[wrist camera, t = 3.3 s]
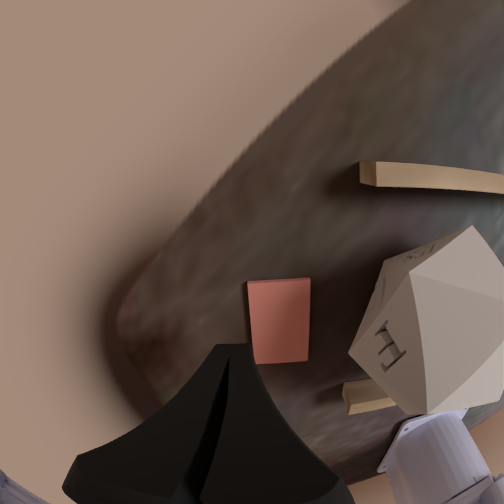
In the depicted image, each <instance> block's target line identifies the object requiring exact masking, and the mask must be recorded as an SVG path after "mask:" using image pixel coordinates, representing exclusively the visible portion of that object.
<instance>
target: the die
mask: <svg viewBox="0 0 504 504" xmlns="http://www.w3.org/2000/svg"><path fill="white" fill-rule="evenodd" d="M348 354H349V355H350V356H351V357H352V358H353V359H354V360H355V361H356V362H357V363H358V364H359V365H360V366H361V368H362V369H363V370H364V371H365V372H366V373H367V374H368V375H369V376H370V377H371V378H372V379H373V380H374V381H375V382H376V383H377V384H378V385H379V386H380V387H381V388H382V390H383V391H384V392H385V393H386V394H387V395H388V396H389V397H390V398H391V399H392V400H393V401H394V402H395V403H396V404H397V405H398V406H399V407H400V408H401V409H402V410H403V411H404V413H405V414H434V413H441V412H447V411H453V410H459V409H464V408H470V407H474V406H479V405H483V404H488V403H492V402H496V401H499V399H500V397H501V395H502V392H503V390H504V267H503V266H502V264H501V263H500V261H499V260H498V258H497V257H496V256H495V254H494V253H493V251H492V250H491V249H490V247H489V246H488V245H487V243H486V242H485V241H484V239H483V238H482V237H481V235H480V234H479V233H478V232H477V230H476V229H475V228H474V227H473V225H471V226H468V227H466V228H464V229H461V230H459V231H457V232H454V233H452V234H450V235H447V236H445V237H442V238H440V239H437V240H435V241H432V242H430V243H427V244H425V245H422V246H420V247H417V248H415V249H412V250H410V251H407V252H404V253H402V254H399V255H397V256H394V257H391V258H389V259H386V260H384V262H383V265H382V268H381V271H380V274H379V277H378V280H377V283H376V285H375V291H374V292H373V294H372V296H371V299H370V302H369V304H368V307H367V309H366V312H365V314H364V317H363V319H362V322H361V324H360V327H359V329H358V331H357V334H356V336H355V338H354V341H353V343H352V345H351V347H350V350H349V352H348Z"/></svg>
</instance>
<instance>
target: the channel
mask: <svg viewBox="0 0 504 504" xmlns="http://www.w3.org/2000/svg"><path fill="white" fill-rule="evenodd" d="M359 167H360V183H363V184H368V185H372V186H377V187H417V188H439V189H456V190H469V191H481V192H492V193H502V194H504V175H501V174H495V173H489V172H483V171H476V170H469V169H461V168H453V167H444V166H434V165H423V164H411V163H395V162H370V161H359ZM342 395H343V398H344V401H345V405H346V408H347V411H348V415H350V414H356V413H361V412H367V411H371V410H376V409H381V408H385V407H389V406H394V405H397V404H396V403H395V402H394V401H393V400H392V399H391V398H390V397H389V396H388V395H387V394H386V393H385V392H384V391H383V390H382V388H381V387H380V386H379V385H378V384H377V383H376V382H375V381H374V380H373V379H372V378H370V379H364V380H358V381H352V382H345V383H344V385H343V390H342Z"/></svg>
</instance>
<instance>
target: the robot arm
mask: <svg viewBox="0 0 504 504" xmlns="http://www.w3.org/2000/svg"><path fill="white" fill-rule="evenodd" d="M467 410H468V408H464V409H459V410H453V411H447V412H441V413H434V414H425V415H422V416H419V417H416V418H413V419H409V420H406V421H405V422H403V423H402V425H401V426H400V429H399V431H398V433H397V434H396V436H395V438H394V440H393V442H392V444H391V446H390V448H389V450H388V451H387V453H386V455H385V457H384V458H383V460H382V462H381V464H380V465H379V467H378V469H377V472H378V473H381V472H385V471H386V473H387V475H388V479H389V482H390V485H391V489H392V492H393V496H394V499H395V502H396V504H504V474H503V473H502V474H500V475H499V476H498V477H495V476H492V475H491V473H490V471H489V469H488V467H487V465H486V463H485V461H484V459H483V457H482V456H481V454H480V452H479V450H478V448H477V446H476V445H475V443H474V441H473V439H472V437H471V436H470V434H469V432H468V430H467V429H466V427H465V425H464V424H463V422H462V418H463V417H464V415H465V413H466V412H467ZM62 489H63V491H64V493H65V494H66V495H67V496H68V497H70V498H71V499H72V500H73V501H75V502H76V503H77V504H355V502H354V499H353V497H352V494H351V493H350V491H349V489H348V487H347V485H346V484H345V482H344V480H343V479H342V477H341V476H340V475H339V474H337V473H336V472H335V471H333V470H332V469H331V468H330V467H329V466H327V465H326V464H325V463H324V462H323V461H322V460H320V459H319V458H318V457H317V456H316V455H315V454H314V453H313V452H312V451H311V450H310V449H309V448H308V447H307V446H306V445H305V444H304V442H303V441H302V440H301V439H300V438H299V437H298V436H297V434H296V433H295V432H294V431H293V430H292V429H291V427H290V426H289V425H288V423H287V422H286V421H285V419H284V418H283V416H282V415H281V413H280V412H279V410H278V409H277V407H276V406H275V404H274V402H273V401H272V399H271V397H270V395H269V393H268V392H267V390H266V388H265V386H264V384H263V381H262V379H261V376H260V374H259V372H258V369H257V366H256V363H255V359H254V351H253V345H251V344H250V343H246V344H216V345H215V346H214V348H213V349H212V350H211V352H210V353H209V355H208V356H207V358H206V359H205V360H204V362H203V363H202V365H201V366H200V367H199V368H198V370H197V371H196V372H195V373H194V375H193V376H192V377H191V378H190V380H189V381H188V382H187V383H186V384H185V385H184V386H183V387H182V388H181V390H180V391H179V392H178V393H177V394H176V395H175V396H174V397H173V398H172V399H171V400H170V401H169V402H168V403H167V404H166V405H164V406H163V407H162V408H161V409H160V410H159V411H157V412H156V413H155V414H154V415H152V416H151V417H150V418H149V419H147V420H146V421H144V422H143V423H142V424H140V425H139V426H137V427H136V428H135V429H133V430H131V431H130V432H128V433H126V434H125V435H123V436H121V437H119V438H117V439H115V440H113V441H111V442H109V443H107V444H105V445H103V446H100V447H98V448H95V449H93V450H90V451H88V452H85V453H83V454H80V455H77V457H76V459H75V461H74V462H73V464H72V466H71V468H70V470H69V472H68V474H67V477H66V479H65V481H64V483H63V485H62ZM0 504H50V503H48V502H46V501H44V500H42V499H41V498H39V497H37V496H36V495H34V494H33V493H31V492H29V491H28V490H26V489H25V488H23V487H22V486H20V485H19V484H17V483H16V482H14V481H13V480H11V479H10V478H8V477H7V476H6V475H5V474H4V472H2V470H0Z"/></svg>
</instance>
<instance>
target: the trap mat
mask: <svg viewBox="0 0 504 504" xmlns="http://www.w3.org/2000/svg"><path fill="white" fill-rule="evenodd" d="M247 284H248V296H249V308H250V320H251V332H252V344H253V351H254V359H255V363H256V364H269V363H286V362H299V361H308V346H309V322H310V278H309V277H308V278H293V279H276V280H258V281H248V283H247Z"/></svg>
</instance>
